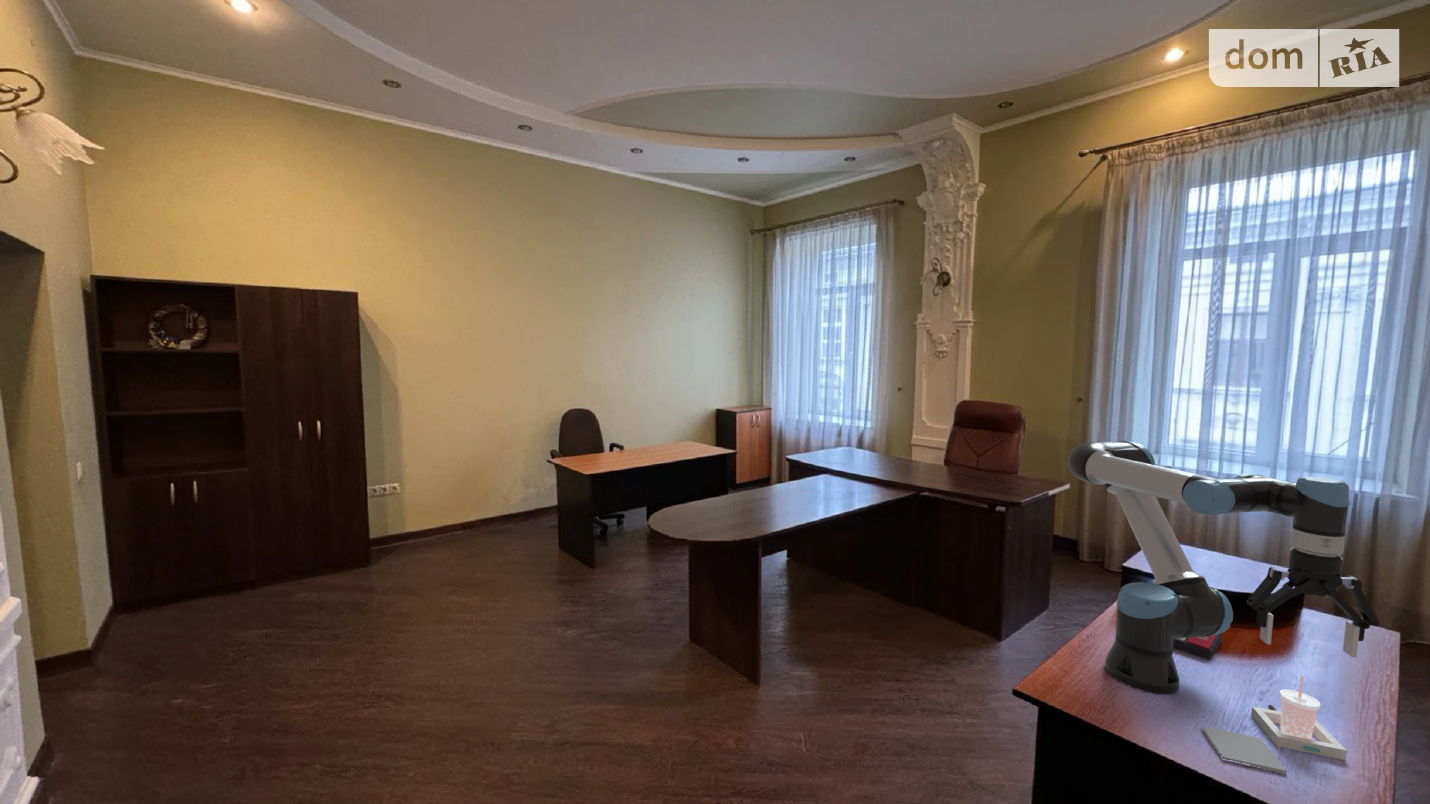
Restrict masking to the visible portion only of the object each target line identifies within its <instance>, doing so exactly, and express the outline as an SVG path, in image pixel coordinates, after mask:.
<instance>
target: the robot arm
mask: <svg viewBox="0 0 1430 804" xmlns="http://www.w3.org/2000/svg"><path fill="white" fill-rule="evenodd" d="M1067 466H1068V470H1069V471H1070V473H1071V474H1072V475H1073V476H1074V477H1076V478H1077V479H1078V480H1081V481H1083V482H1088V483H1091V484H1095V485H1100V486H1101V485H1104V487H1105V489H1106V491H1107V492H1108V493H1111V494H1113V495H1114V496H1116V499H1117V501H1118V502H1119V504H1120V507H1121V509H1122V510H1123V513H1124V515H1125V518H1126V519H1127V521H1128V524H1129V526H1130V528H1131V530H1132V532H1133V534H1134V536H1135V539H1136V541H1137V543H1138V545H1139V547H1140V550H1141V551H1142V553H1143V555H1144V557H1145V560H1146V562H1147V564H1148V566H1149V569H1150V571H1151V573H1152V575H1153V577H1154V581H1153V582H1147V583H1146V582H1143V581H1138V582H1137V581H1135V582H1130V583H1127V584H1125V585H1122V586H1121V588H1120V590H1119V593H1118V598H1117V601H1116V606H1117V610H1116V624H1115V625H1116V626H1115V638H1114V639H1115V640H1114V642H1113V644H1112V645H1111V647H1110V649H1109V651H1108V653H1107V655H1106V656H1105V663H1104V664H1105V665H1104V668H1106V669H1105V670H1107V671H1106V672H1107V673H1108V675H1110V676H1111V675H1112V676H1113V677H1114V678H1113V677H1112V676H1111V677H1112V678H1113V679H1115V678H1116V679H1117V680H1116V679H1115V680H1116V681H1118V680H1119V681H1118V682H1120V681H1121V682H1123V683H1125V684H1127V685H1126V686H1128V685H1130V686H1131V688H1133V687H1134V688H1133V689H1135V688H1137V689H1136V690H1138V689H1140V690H1139V691H1141V690H1142V691H1143V692H1145V693H1149V692H1151V694H1155V695H1171V694H1175V693H1177V692H1178V691H1179V688H1180V682H1181V681H1180V676H1179V673H1178V669H1177V666H1176V664H1175V659H1174V657H1173V654H1174V653H1173V652H1174V648H1173V642H1174V639H1176V638H1188V637H1199V636H1202V637H1207V636H1212V635H1216V634H1220V633H1222V634H1223V633H1225V632H1226V631H1227V630H1229V628H1230V627H1231V625H1232V622H1233V621H1234V620H1233V619H1234V612H1233V608H1232V604H1231V603H1230V601H1229V599H1228V597H1227V596H1226V595H1225V594H1224V593H1223V592H1221V591H1219V590H1218V589H1217V588H1214V587H1211V586H1209V584H1208V582H1207V580H1206V578H1205V577H1204V576H1203V575H1201V574H1199V573H1197V572H1195V571H1194V569H1193V568H1192V566H1191V564H1190V562H1189V560H1188V558H1187V556H1186V554H1185V552H1184V550H1183V548H1182V545H1181V544H1180V542H1179V540H1178V538H1177V537H1176V534H1175V533H1174V530H1173V528H1172V527H1171V524H1170V522H1169V520H1168V519H1167V517H1166V515H1165V512H1164V510H1163V509H1162V506H1161V505H1160V503H1159V501H1158V499H1157V498H1161V499H1164V500H1168V501H1172V502H1175V503H1178V504H1179V503H1180V504H1183V505H1187V506H1188V508H1190V509H1191V510H1192V511H1194V512H1196V513H1198V514H1203V515H1204V514H1206V515H1207V514H1208V515H1213V516H1214V515H1216V516H1217V515H1223V514H1234V513H1235V514H1236V513H1252V512H1255V513H1256V512H1269V513H1272V514H1277V515H1282V516H1285V517H1290V518H1292V530H1291V540H1290V545H1291V546H1292V547H1291V548H1290V551H1289V559H1288V560H1289V561H1288V562H1289V567H1288V569H1287V570H1281V569H1278V568H1276V567H1275V566H1270V567H1269V568H1268V570H1267V574H1266V576H1265V578H1264V579H1263V580H1262V581H1261V583H1260V584H1259V585H1258V586H1257V588H1256V589H1255V590H1254V591H1253V592H1252V593H1251V595H1250V596H1249V597H1248V598H1247V599H1246V601H1245V603H1246V605H1248V606H1249V607H1250V608H1251V609H1253V610H1254V611H1255V610H1256V619H1255V622H1256V624H1257V625H1258V626H1259V627H1260V631H1259V639H1260V640H1262V641H1263V642H1264V643H1265V645H1272V634H1273V624H1274V615H1273V614H1272V613H1271V612H1272V611H1274V610H1275V609H1277V608H1278V607H1279V606H1281V605H1282V604H1285V602H1287V601H1289V600H1290V599H1292V598H1293V597H1294V596H1299V595H1300V594H1304V595H1309V596H1311V595H1312V596H1314V595H1315V596H1318V597H1324V598H1325V597H1327V596H1328V597H1329V598H1330V599H1331V600H1332V601H1333V602H1334V603H1335V604H1336V605H1337V606H1338V607H1339V608H1340V609H1341V611H1343V613H1344V614H1345V615H1346V616H1347V617H1348V618H1349V619H1350V620H1351V621H1349V620H1345V627H1344V629H1345V630H1344V636H1343V637H1344V638H1343V647H1342V650H1343V651H1342V652H1344V653H1345V654H1347V655H1349V656H1350V657H1351V658H1357V655H1358V647H1359V642H1363V641H1364V640H1365V631H1366V630H1368V629H1370V628H1371V626H1375V627H1377V626H1380V623H1381V622H1380V621H1379V619H1378V617H1377V615H1376V613H1375V611H1374V609H1373V608H1372V606H1371V605H1370V603H1369V601H1368V599H1367V597H1366V596H1365V593H1364V591H1363V586H1362V585H1363V583H1362V581H1361V580H1360V579H1358V578H1356V577H1355V576H1353V575H1347V576H1344V577H1343V576H1342V577H1341V574H1342V571H1343V570H1342V569H1343V560H1344V559H1343V557H1342V556H1341V555H1343V554H1344V549H1345V541H1346V540H1345V539H1346V528H1347V527H1346V526H1347V518H1348V510H1349V506H1350V486H1349V485H1348V484H1347V483H1346V482H1345V481H1343V480H1339V479H1336V478H1330V477H1322V476H1314V475H1313V476H1311V475H1306V476H1305V475H1304V476H1300V477H1298V478H1297V481H1296V482H1292V481H1288V480H1287V481H1286V480H1282V479H1277V478H1273V477H1267V476H1264V475H1261V474H1251V473H1240V474H1238V475H1237V476H1235V477H1233V478H1216V477H1211V476H1207V475H1201V474H1198V473H1193V472H1189V471H1185V470H1184V471H1183V470H1178V469H1173V468H1171V467H1170V468H1169V467H1166V466H1160V465H1156V462H1155V458H1154V456H1153V454H1152V452H1151V451H1150V450H1149V449H1148V448H1147V447H1146V446H1145V445H1143V444H1141V443H1139V442H1134V441H1126V440H1117V441H1098V442H1096V441H1088V442H1083V443H1080V444H1079V445H1076V446H1075V447H1074V448H1073V449H1072V450H1071V451H1070V452H1069V455H1068V458H1067ZM1285 578H1287V579H1288V581H1287V582H1285V583H1283V585H1282V586H1281V587H1280V588H1278V589H1277V590H1276V588H1277V587H1278V586H1279V584H1280V583H1281V581H1284V580H1285ZM1341 585H1343V587H1345V588H1347V591H1348V593H1349V594H1350V596H1351V598H1352V600H1353V602H1354V604H1355V605H1356V607H1357V610H1358V611H1359V613H1360V614H1361V615H1359V614H1358V612H1357V611H1356V610H1355V609H1354V608H1353V607H1352V606H1351V605H1350V604H1349V602H1347V601H1346V599H1345V598H1344V597H1343V596H1342V595H1341V593H1339V591H1338V590H1337V589H1338V588H1340V587H1341ZM1275 590H1276V591H1275ZM1273 591H1275V592H1273ZM1121 682H1120V683H1121ZM1123 683H1122V684H1123ZM1125 684H1124V685H1125ZM1130 686H1129V687H1130Z"/></svg>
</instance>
